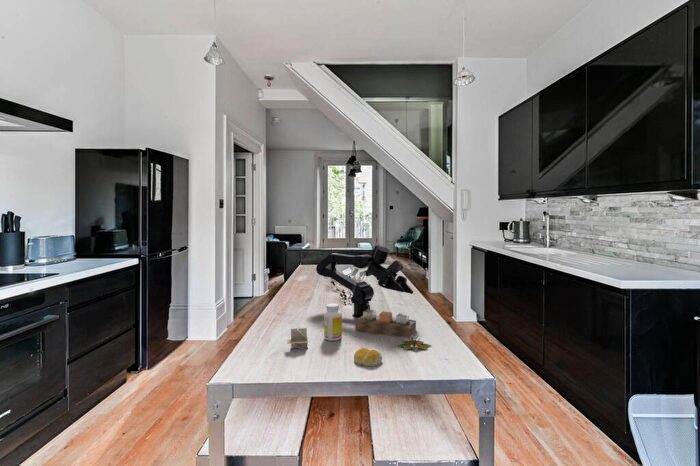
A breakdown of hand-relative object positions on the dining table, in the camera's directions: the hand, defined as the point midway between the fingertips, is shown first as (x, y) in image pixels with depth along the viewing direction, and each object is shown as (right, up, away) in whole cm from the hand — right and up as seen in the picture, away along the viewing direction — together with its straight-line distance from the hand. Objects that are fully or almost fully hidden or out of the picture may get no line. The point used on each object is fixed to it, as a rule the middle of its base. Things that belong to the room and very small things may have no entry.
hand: (408, 292), depth 159 cm
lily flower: (-1, -17, -21) cm, 27 cm away
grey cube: (-16, -11, -1) cm, 20 cm away
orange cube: (-10, -11, -4) cm, 16 cm away
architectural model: (-42, -17, -23) cm, 51 cm away
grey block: (-3, -12, -7) cm, 14 cm away
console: (-10, -15, -4) cm, 18 cm away
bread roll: (-18, -17, -34) cm, 42 cm away
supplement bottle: (-30, -16, -13) cm, 37 cm away
